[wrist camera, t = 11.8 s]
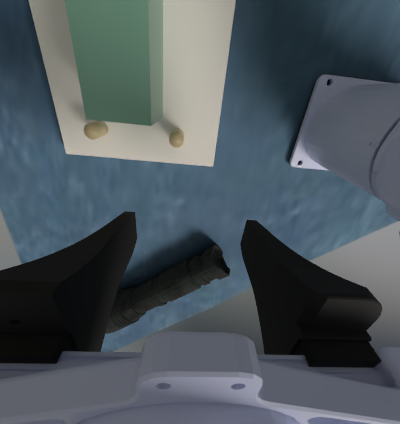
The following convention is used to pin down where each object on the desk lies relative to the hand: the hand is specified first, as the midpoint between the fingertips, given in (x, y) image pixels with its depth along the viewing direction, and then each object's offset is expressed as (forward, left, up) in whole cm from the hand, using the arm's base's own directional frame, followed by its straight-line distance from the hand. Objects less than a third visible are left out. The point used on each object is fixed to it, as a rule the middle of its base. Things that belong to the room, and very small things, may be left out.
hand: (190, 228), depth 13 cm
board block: (+5, -10, -9) cm, 14 cm away
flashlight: (+3, +17, -10) cm, 20 cm away
